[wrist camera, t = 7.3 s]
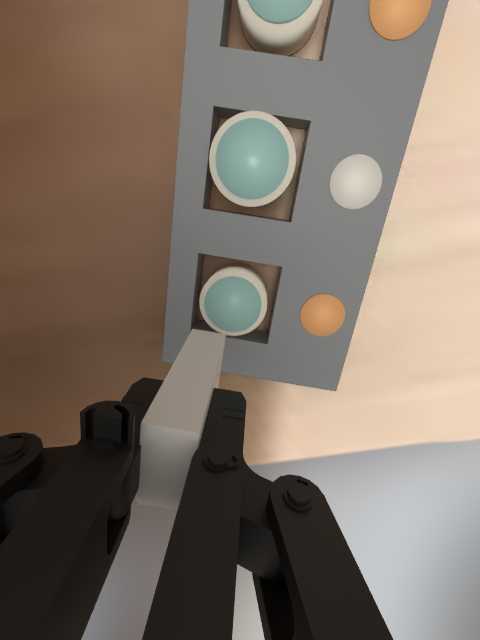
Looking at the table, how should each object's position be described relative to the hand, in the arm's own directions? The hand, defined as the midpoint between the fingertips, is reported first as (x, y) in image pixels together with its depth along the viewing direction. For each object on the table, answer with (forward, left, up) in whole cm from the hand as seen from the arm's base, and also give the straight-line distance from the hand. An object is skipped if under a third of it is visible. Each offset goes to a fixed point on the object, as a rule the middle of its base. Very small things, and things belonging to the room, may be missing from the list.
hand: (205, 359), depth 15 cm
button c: (0, +18, -12) cm, 22 cm away
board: (+2, +9, -12) cm, 15 cm away
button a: (0, 0, -12) cm, 12 cm away
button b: (0, +9, -10) cm, 14 cm away
